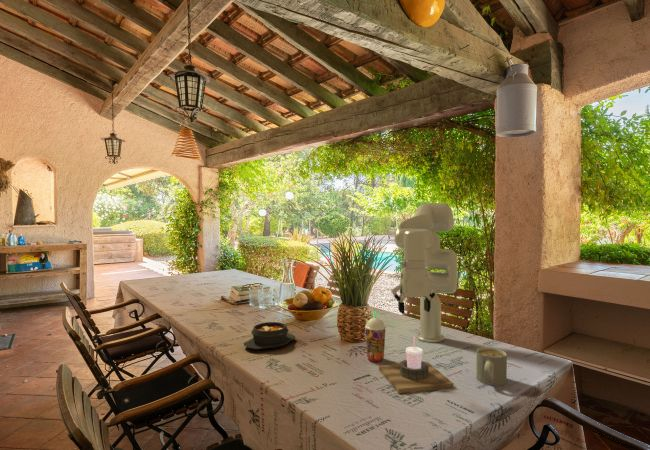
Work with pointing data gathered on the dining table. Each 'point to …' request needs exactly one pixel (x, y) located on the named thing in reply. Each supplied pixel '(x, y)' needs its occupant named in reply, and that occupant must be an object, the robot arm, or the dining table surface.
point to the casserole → (269, 336)
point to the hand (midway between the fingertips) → (414, 311)
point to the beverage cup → (414, 357)
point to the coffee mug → (491, 366)
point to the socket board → (414, 384)
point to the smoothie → (375, 339)
